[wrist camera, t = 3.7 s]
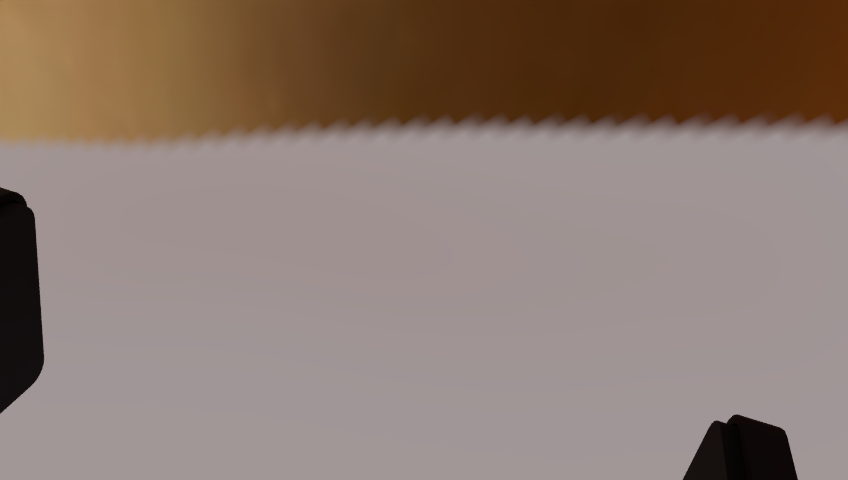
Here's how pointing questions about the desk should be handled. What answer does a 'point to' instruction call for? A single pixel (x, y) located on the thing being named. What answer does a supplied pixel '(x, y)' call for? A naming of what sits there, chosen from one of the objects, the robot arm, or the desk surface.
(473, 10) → the desk surface
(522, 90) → the desk surface
